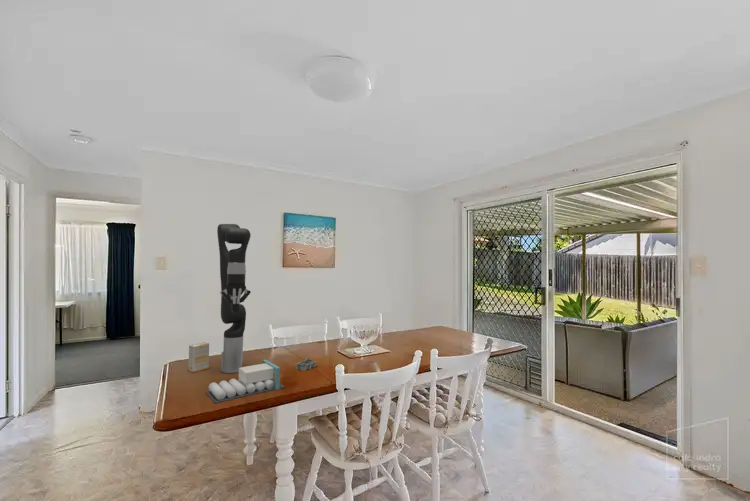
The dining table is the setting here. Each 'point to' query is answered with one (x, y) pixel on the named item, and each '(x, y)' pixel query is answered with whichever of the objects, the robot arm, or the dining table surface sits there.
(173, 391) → the dining table surface
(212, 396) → the roller bed
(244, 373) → the slab
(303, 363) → the egg carton
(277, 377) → the bar
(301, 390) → the dining table surface
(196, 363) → the supplement box
